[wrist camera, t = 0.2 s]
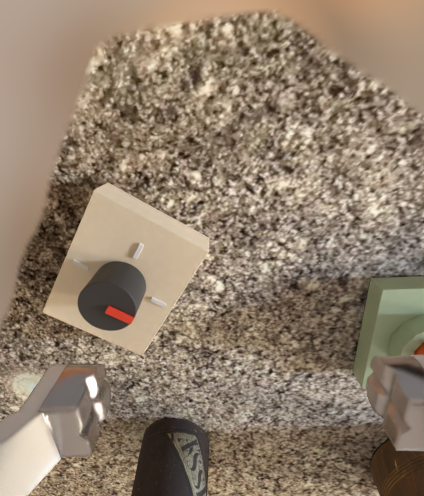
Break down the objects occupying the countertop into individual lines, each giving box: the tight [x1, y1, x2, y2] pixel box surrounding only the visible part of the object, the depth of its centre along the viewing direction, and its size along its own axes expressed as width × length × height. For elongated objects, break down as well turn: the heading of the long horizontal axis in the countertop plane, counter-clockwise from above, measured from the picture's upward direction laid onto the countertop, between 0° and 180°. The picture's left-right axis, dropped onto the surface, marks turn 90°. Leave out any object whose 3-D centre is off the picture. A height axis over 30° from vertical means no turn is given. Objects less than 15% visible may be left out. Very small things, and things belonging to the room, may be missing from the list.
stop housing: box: [353, 276, 424, 387], centre depth 28 cm, size 12×10×4 cm
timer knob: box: [78, 261, 146, 331], centre depth 23 cm, size 4×4×4 cm
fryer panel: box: [43, 182, 209, 356], centre depth 26 cm, size 13×10×3 cm
